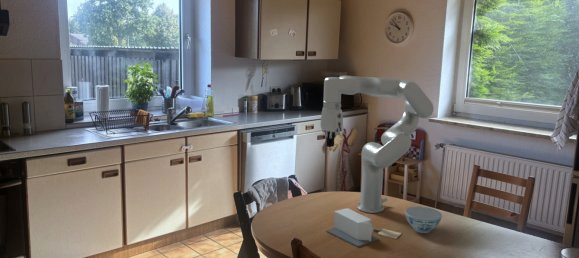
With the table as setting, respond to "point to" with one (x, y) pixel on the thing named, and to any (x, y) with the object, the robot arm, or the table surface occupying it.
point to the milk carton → (353, 224)
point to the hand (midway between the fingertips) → (330, 146)
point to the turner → (387, 233)
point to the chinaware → (423, 218)
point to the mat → (350, 238)
